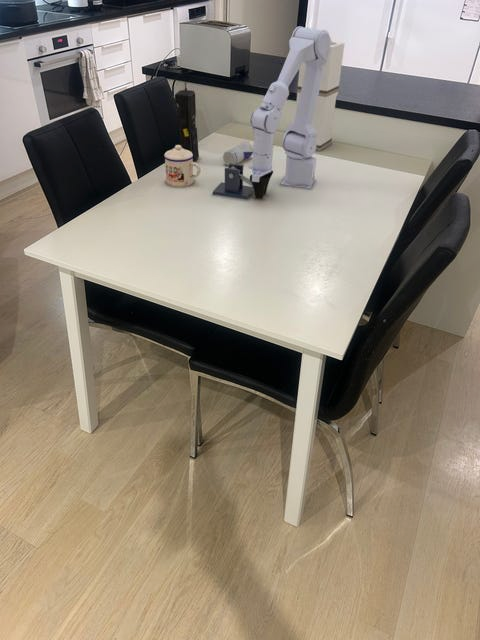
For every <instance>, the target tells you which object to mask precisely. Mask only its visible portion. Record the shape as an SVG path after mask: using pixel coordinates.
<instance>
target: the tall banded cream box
mask: <svg viewBox="0 0 480 640" xmlns="http://www.w3.org/2000/svg"><path fill="white" fill-rule="evenodd" d="M344 53H345V42H339V41H332V40H331V46H330V50H329V54H328V59H327V63H326V64H325V67H324V72H323V76H322V81H321V85H320V90H319V94H318V99H317V103H316V107H315V112H314V116H313V121H312V126H313V128H314V129H315V131H316V132H317V139H316V142H317V147H316V150H315V152H316V151H318V152H321V151H322V150H324V149H325V148H327V147H329V146H330V145H332V140H333V138H332V131H333V124H334V117H335V111H336V110H335V109H336V101H337V96H338V95H339V88H340V81H341V72H342V65H343V60H344V59H343V57H344ZM305 69H306V64H305V62H303V63H302V65H301V66H300V68H299V70H298V80H297V91H296V101H295V103H296V104H295V112H294V113H295V116H294V118H295V117H296V112H297V108H298V103H299V98H300V93H301V89H302V84H303V79H304V74H305ZM297 133H298V132H297ZM300 134H302V133H300ZM303 135H304V134H303Z"/></svg>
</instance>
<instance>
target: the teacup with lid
mask: <svg viewBox="0 0 480 640" xmlns="http://www.w3.org/2000/svg"><path fill="white" fill-rule="evenodd" d="M163 158H164V163H165V165H164V166H165V181H166V184H168V185H169V186H172V187H187V186H189V185H192V184H193V183H194V179H196V178H198V177H199V176H200V174H201V166H200V165H199V163H197V162H196V161H195V162H193V154H192V152H190V151H188V150H185V149H183V148H182V147H181V145H180V144H175V146H174V147H173V148H172V149H169V150H167V151H166V152H165V153H164V155H163ZM194 167H196V170H197V171H196V174H194Z"/></svg>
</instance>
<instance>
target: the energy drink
mask: <svg viewBox="0 0 480 640" xmlns="http://www.w3.org/2000/svg"><path fill="white" fill-rule="evenodd" d="M252 156H253V145H252V144H251V143H249V142H242V143H240V144H239V145H237V146H234V147H232V148H230V149H228V150H226V151H225V152H224V153H223V155H222V159H223V163H224V164H225V165H226V166H228V167H229V164H230V163H232V164H240V163H242V162H244V161H246V160H248V159H249V158H251V157H252Z"/></svg>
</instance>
